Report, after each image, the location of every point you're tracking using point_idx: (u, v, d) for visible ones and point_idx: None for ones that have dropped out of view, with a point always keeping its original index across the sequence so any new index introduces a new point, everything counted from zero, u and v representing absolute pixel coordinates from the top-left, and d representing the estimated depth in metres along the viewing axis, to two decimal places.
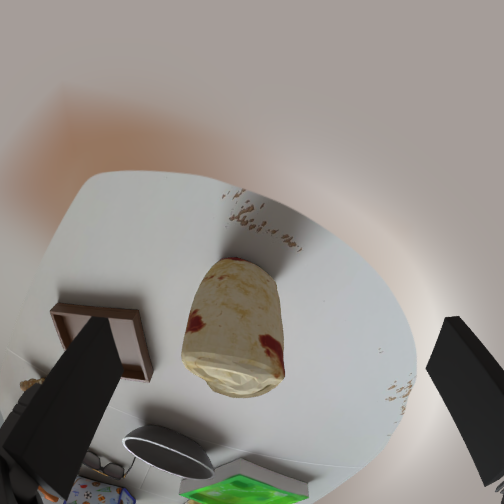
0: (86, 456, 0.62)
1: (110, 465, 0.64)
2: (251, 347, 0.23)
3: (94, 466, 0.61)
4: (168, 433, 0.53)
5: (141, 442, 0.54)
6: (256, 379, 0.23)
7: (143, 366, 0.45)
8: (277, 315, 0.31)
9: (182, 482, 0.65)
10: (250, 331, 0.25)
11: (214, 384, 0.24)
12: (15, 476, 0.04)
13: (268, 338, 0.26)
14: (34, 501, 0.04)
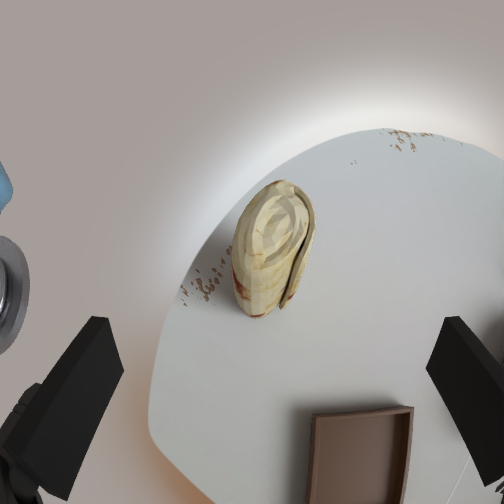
0: None
1: None
2: None
3: None
4: None
5: None
6: (274, 197, 0.23)
7: (387, 412, 0.31)
8: None
9: None
10: None
11: (294, 244, 0.22)
12: (15, 476, 0.04)
13: None
14: (34, 501, 0.04)
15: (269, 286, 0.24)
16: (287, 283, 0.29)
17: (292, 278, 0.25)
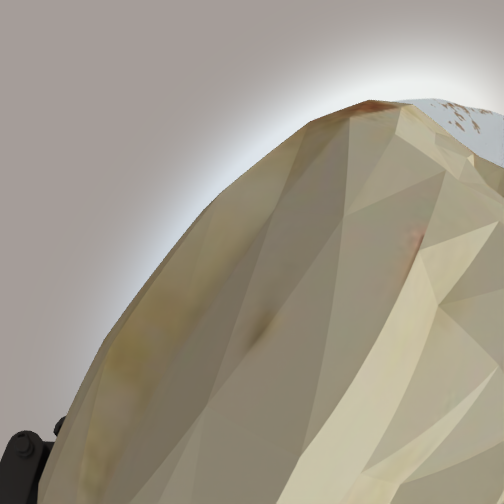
0: None
1: None
2: None
3: None
4: None
5: None
6: (440, 252, 0.01)
7: None
8: None
9: None
10: None
11: None
12: None
13: None
14: None
15: None
16: None
17: None
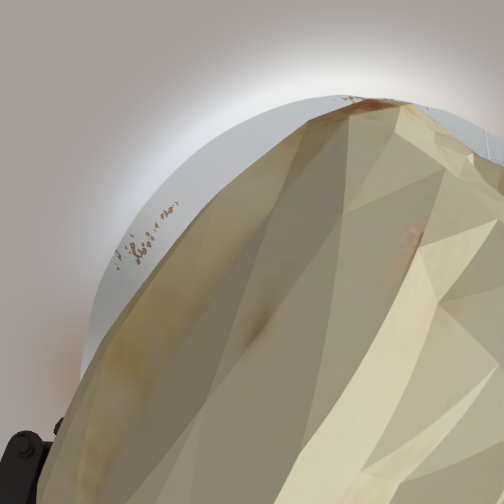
0: None
1: None
2: None
3: None
4: None
5: None
6: (441, 250, 0.01)
7: None
8: None
9: None
10: None
11: None
12: None
13: None
14: None
15: None
16: None
17: None
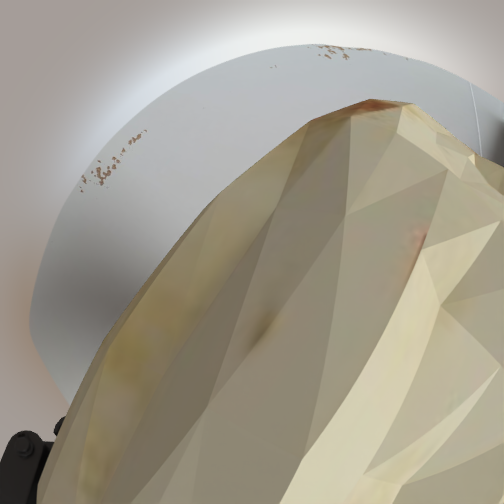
0: None
1: None
2: None
3: None
4: None
5: None
6: (445, 252, 0.01)
7: None
8: None
9: None
10: None
11: None
12: None
13: None
14: None
15: None
16: None
17: None
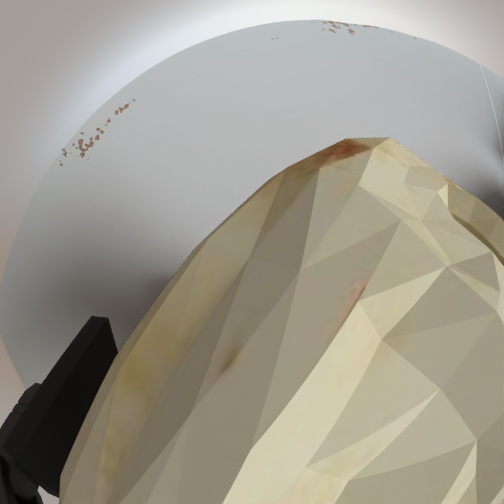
0: None
1: None
2: None
3: None
4: None
5: None
6: (380, 300, 0.02)
7: None
8: None
9: None
10: None
11: None
12: (15, 476, 0.04)
13: None
14: (34, 501, 0.04)
15: None
16: None
17: None
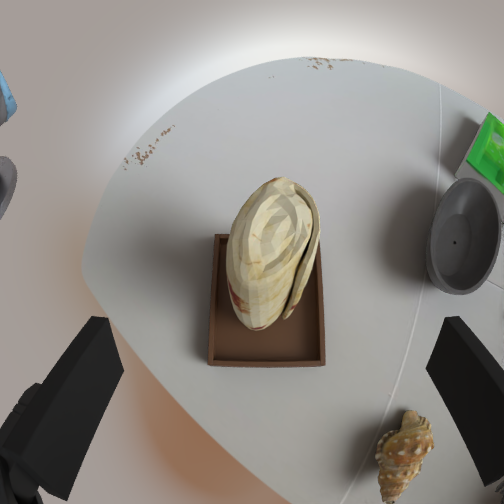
0: None
1: None
2: (240, 211, 0.21)
3: None
4: None
5: (461, 281, 0.35)
6: (273, 196, 0.20)
7: None
8: None
9: None
10: None
11: (296, 249, 0.19)
12: (15, 476, 0.04)
13: None
14: (34, 501, 0.04)
15: (270, 297, 0.21)
16: (290, 292, 0.27)
17: (295, 287, 0.22)
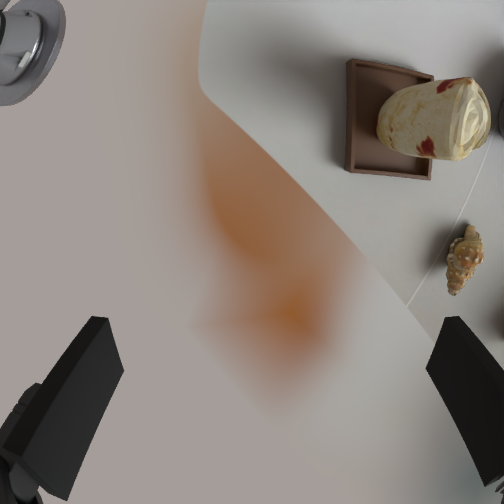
0: None
1: None
2: (446, 97, 0.20)
3: None
4: (503, 101, 0.33)
5: None
6: (472, 98, 0.19)
7: (411, 71, 0.33)
8: (423, 84, 0.26)
9: None
10: (433, 99, 0.22)
11: (478, 138, 0.21)
12: (15, 476, 0.04)
13: (439, 87, 0.22)
14: (34, 501, 0.04)
15: None
16: None
17: None
